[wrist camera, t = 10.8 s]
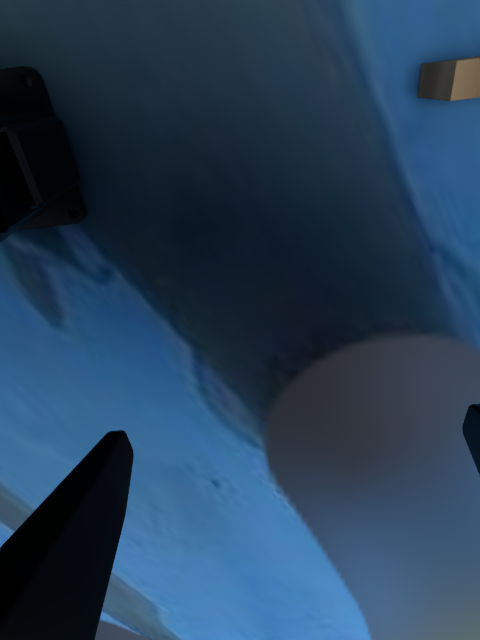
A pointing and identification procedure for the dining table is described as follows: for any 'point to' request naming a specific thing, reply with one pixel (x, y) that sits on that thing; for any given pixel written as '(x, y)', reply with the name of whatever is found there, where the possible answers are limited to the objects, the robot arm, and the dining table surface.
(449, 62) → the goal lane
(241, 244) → the dining table surface
